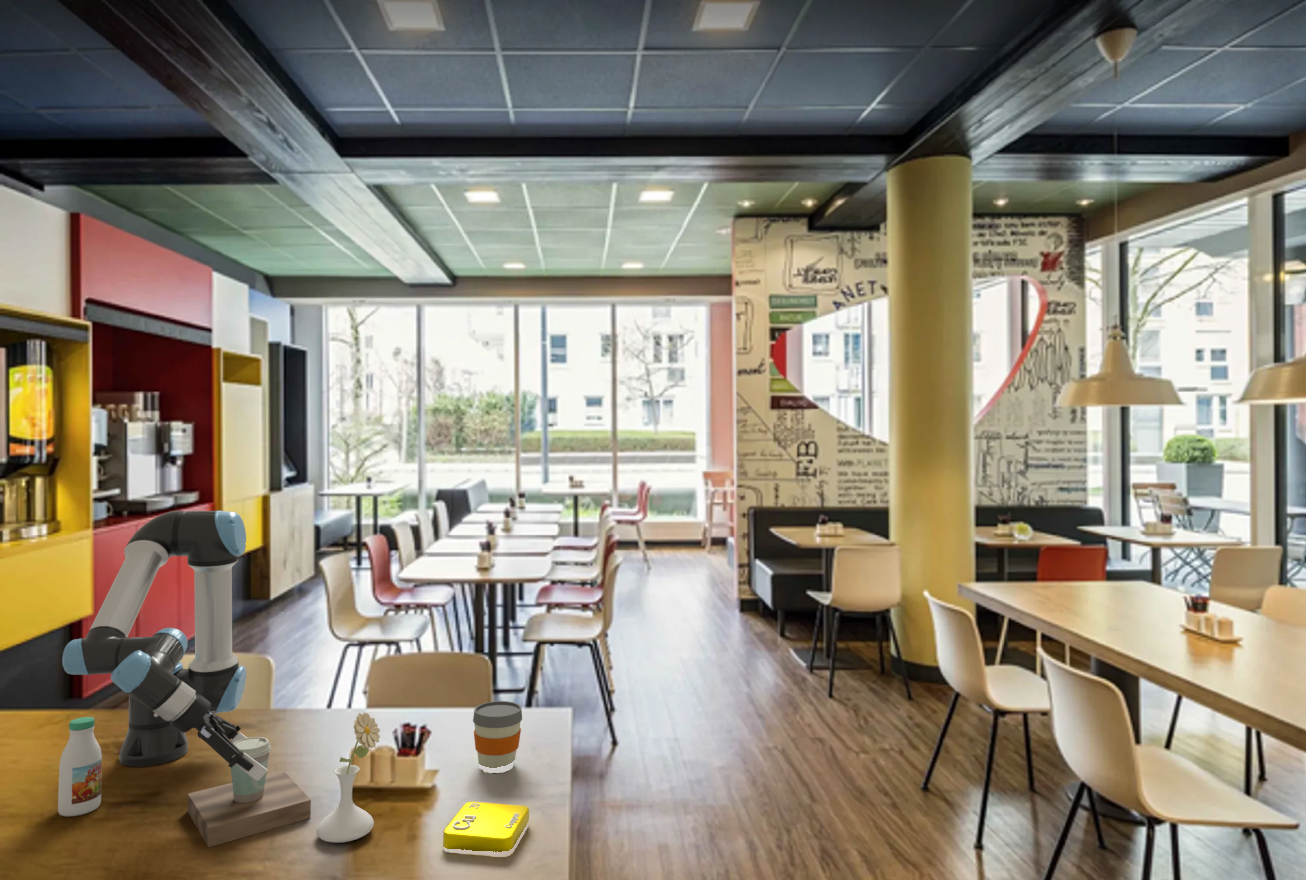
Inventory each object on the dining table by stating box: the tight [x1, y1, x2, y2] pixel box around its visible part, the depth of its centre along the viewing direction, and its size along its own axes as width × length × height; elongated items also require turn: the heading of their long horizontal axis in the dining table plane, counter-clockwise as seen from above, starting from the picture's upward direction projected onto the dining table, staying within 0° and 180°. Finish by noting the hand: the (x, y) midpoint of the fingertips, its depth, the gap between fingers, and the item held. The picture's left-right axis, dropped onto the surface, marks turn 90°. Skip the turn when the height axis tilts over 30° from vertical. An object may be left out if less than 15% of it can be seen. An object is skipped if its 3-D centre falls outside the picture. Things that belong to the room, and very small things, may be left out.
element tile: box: [442, 801, 530, 852], centre depth 165 cm, size 15×15×5 cm
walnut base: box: [187, 769, 312, 848], centre depth 173 cm, size 20×20×4 cm
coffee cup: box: [230, 736, 272, 803], centre depth 172 cm, size 8×8×12 cm
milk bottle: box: [57, 716, 103, 817], centre depth 173 cm, size 8×8×20 cm
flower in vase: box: [316, 711, 381, 844], centre depth 166 cm, size 13×11×25 cm
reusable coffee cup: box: [472, 700, 523, 768], centre depth 201 cm, size 13×13×15 cm
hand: (259, 764), depth 174 cm, fingers open, 13 cm apart
